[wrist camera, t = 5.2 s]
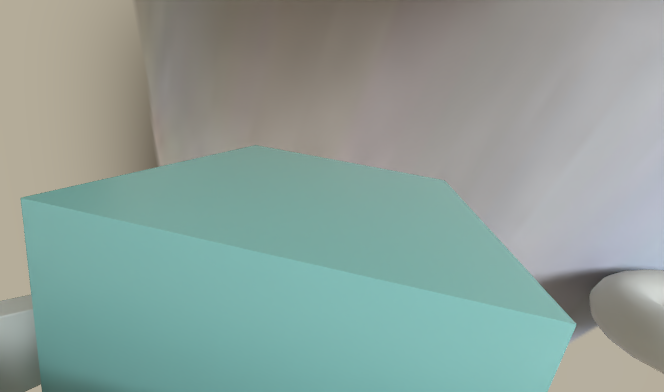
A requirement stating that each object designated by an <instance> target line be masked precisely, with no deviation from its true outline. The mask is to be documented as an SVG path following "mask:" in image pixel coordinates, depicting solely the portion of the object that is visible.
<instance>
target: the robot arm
mask: <svg viewBox="0 0 664 392" xmlns="http://www.w3.org/2000/svg"><path fill="white" fill-rule="evenodd" d="M40 384H41V377H40V368H39V359H38V350H37V341H36V332H35V323H34V314H33V305H32V296H31V295H27V296H22V297H17V298H12V299H8V300H2V301H0V392H25V391H27V390H29V389H32V388H34V387H36V386H38V385H40Z"/></svg>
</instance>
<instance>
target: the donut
mask: <svg viewBox="0 0 664 392" xmlns="http://www.w3.org/2000/svg"><path fill="white" fill-rule="evenodd" d="M589 299H590V309H591V315H592V317H593V319H594V321H595V322H596V324H597V325H598V326H599V327H600V329H601V330H602V331H603V332H604V334H605V335H606V336H607V337H608V338H609V339H610V340H611V341H612V342H614V343H615V344H616V345H618V346H619V347H620V348H622V349H623V350H624V351H626V352H627V353H628V354H630V355H631V356H632V357H634V358H636V359H638V360H639V361H641V362H643V363H645V364H647V365H649V366H651V367H652V368H654V369H656V370H658V371H660V372H662V373H663V374H664V270H632V271H622V272H619V273H615V274H612V275H609V276H607V277H604V278H603V279H602V280H601V281H600V282H599V283H598V284H597V285H596V286H595V287H594V288H593V289H592V290H591V293H590V296H589Z"/></svg>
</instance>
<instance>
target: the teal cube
mask: <svg viewBox="0 0 664 392" xmlns="http://www.w3.org/2000/svg"><path fill="white" fill-rule="evenodd" d="M21 206H22V215H23V223H24V233H25V242H26V251H27V260H28V268H29V278H30V287H31V296H32V305H33V314H34V323H35V332H36V341H37V350H38V359H39V368H40V377H41V386H42V392H548V389H549V387H550V385H551V382H552V380H553V378H554V376H555V373H556V371H557V368H558V366H559V364H560V362H561V359H562V357H563V355H564V353H565V350H566V348H567V346H568V343H569V341H570V339H571V336H572V334H573V332H574V330H575V327H576V325H577V324H576V323H575V322H574V321H573V320H572V319H571V318H570V317H569V316H568V314H567V313H566V312H565V311H564V310H563V309H562V308H561V307H560V306H559V305H558V304H557V302H556V301H555V300H554V299H553V298H552V297H551V296H550V295H549V294H548V293H547V292H546V290H545V289H544V288H543V287H542V286H541V285H540V284H539V283H538V282H537V281H536V280H535V278H534V277H533V276H532V275H531V274H530V273H529V272H528V271H527V270H526V269H525V268H524V266H523V265H522V264H521V263H520V262H519V261H518V260H517V259H516V258H515V257H514V256H513V254H512V253H511V252H510V251H509V250H508V249H507V248H506V247H505V246H504V245H503V244H502V242H501V241H500V240H499V239H498V238H497V237H496V236H495V235H494V234H493V233H492V232H491V230H490V229H489V228H488V227H487V226H486V225H485V224H484V223H483V222H482V221H481V220H480V218H479V217H478V216H477V215H476V214H475V213H474V212H473V211H472V210H471V209H470V208H469V206H468V205H467V204H466V203H465V202H464V201H463V200H462V199H461V198H460V197H459V196H458V194H457V193H456V192H455V191H454V190H453V189H452V188H451V187H450V186H449V185H448V184H447V182H446V181H445V180H440V179H434V178H429V177H424V176H418V175H413V174H408V173H402V172H397V171H392V170H386V169H381V168H375V167H370V166H365V165H359V164H354V163H349V162H343V161H338V160H333V159H327V158H322V157H316V156H311V155H306V154H300V153H295V152H290V151H284V150H279V149H274V148H268V147H263V146H258V145H254V146H250V147H245V148H241V149H236V150H232V151H227V152H223V153H218V154H214V155H210V156H205V157H201V158H196V159H192V160H187V161H183V162H178V163H174V164H169V165H165V166H160V167H156V168H151V169H147V170H143V171H139V172H134V173H129V174H125V175H120V176H116V177H112V178H107V179H102V180H98V181H93V182H89V183H85V184H81V185H76V186H71V187H67V188H62V189H58V190H53V191H49V192H45V193H40V194H36V195H31V196H27V197H23V198H21Z"/></svg>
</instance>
